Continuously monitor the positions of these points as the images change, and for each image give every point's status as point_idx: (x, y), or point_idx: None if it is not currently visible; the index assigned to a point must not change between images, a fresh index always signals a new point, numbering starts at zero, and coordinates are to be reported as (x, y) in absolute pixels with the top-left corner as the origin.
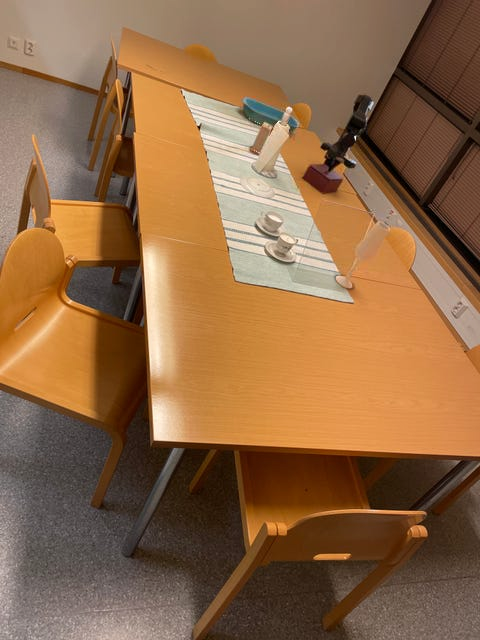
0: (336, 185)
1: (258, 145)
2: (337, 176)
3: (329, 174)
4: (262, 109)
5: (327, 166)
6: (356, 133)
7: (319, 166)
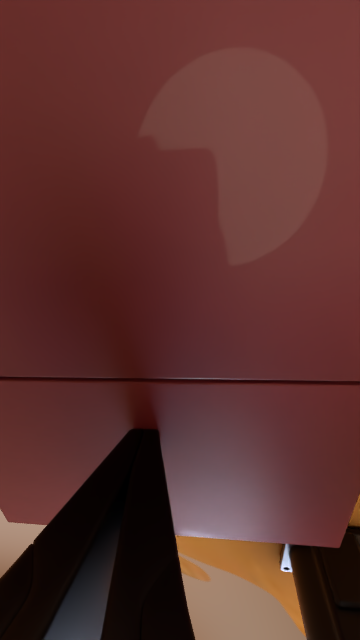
0: None
1: None
2: (17, 458)
3: (28, 327)
4: None
5: (273, 534)
6: None
7: (319, 351)
